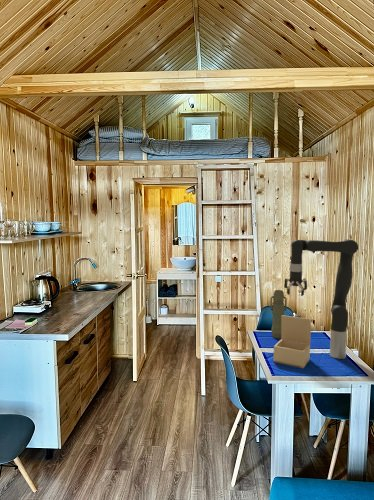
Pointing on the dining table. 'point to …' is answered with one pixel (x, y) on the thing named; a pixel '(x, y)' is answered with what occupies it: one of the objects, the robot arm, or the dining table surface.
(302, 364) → the carton
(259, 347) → the dining table surface
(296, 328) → the carton flap
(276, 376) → the dining table surface
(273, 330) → the thermos
